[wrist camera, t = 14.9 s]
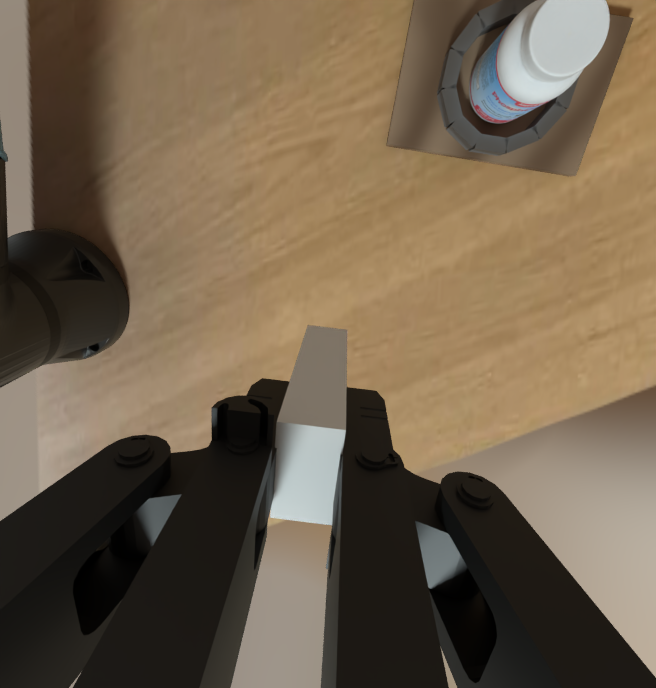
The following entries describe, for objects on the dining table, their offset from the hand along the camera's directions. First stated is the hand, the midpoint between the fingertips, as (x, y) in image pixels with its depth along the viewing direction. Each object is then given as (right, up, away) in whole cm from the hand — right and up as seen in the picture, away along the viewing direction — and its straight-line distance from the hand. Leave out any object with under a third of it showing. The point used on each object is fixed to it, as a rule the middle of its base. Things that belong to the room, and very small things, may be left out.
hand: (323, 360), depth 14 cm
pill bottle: (+16, +24, +19) cm, 34 cm away
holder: (+16, +24, +19) cm, 35 cm away
